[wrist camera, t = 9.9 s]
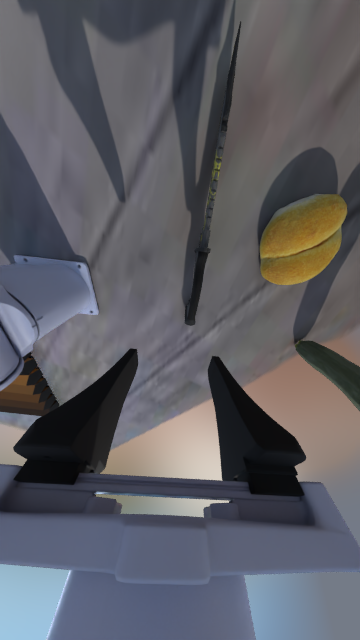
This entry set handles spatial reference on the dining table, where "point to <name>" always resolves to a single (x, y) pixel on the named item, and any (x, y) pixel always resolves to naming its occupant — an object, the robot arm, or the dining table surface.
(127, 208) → the dining table surface
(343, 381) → the vegetable
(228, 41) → the dining table surface
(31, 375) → the pan flute
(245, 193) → the dining table surface
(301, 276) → the bread roll
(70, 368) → the dining table surface
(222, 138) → the knife
